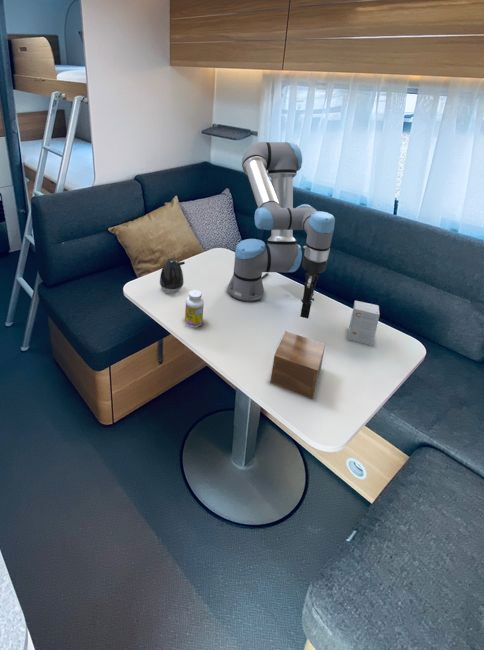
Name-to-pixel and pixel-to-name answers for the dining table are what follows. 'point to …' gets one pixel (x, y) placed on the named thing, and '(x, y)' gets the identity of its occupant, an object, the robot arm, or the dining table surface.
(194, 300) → the supplement bottle
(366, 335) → the small box
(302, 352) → the wooden block
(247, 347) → the dining table surface
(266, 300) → the dining table surface
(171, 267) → the pump dispenser
